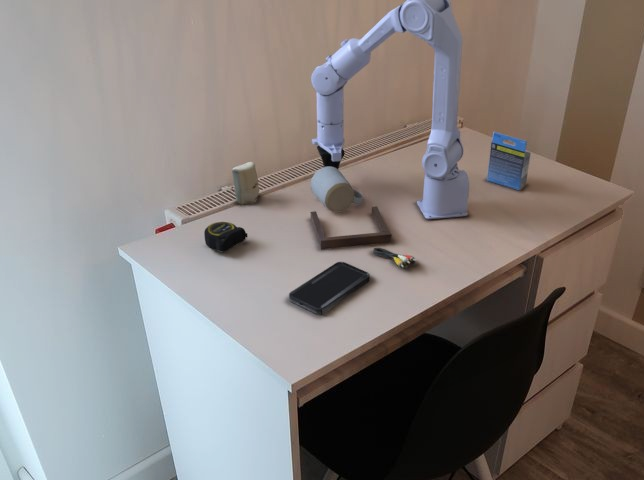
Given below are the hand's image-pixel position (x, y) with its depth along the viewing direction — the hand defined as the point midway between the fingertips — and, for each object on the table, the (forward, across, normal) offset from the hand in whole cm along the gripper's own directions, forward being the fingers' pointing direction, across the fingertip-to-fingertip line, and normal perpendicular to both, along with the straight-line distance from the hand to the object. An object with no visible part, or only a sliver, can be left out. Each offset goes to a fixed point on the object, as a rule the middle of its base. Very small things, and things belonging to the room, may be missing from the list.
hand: (331, 178), depth 163 cm
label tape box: (+2, +5, +41) cm, 41 cm away
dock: (+2, +20, 0) cm, 20 cm away
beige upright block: (+2, +3, -19) cm, 19 cm away
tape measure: (+2, +22, -25) cm, 34 cm away
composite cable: (+2, +34, +6) cm, 34 cm away
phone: (+2, +41, -8) cm, 42 cm away
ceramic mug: (+2, +9, 0) cm, 9 cm away
